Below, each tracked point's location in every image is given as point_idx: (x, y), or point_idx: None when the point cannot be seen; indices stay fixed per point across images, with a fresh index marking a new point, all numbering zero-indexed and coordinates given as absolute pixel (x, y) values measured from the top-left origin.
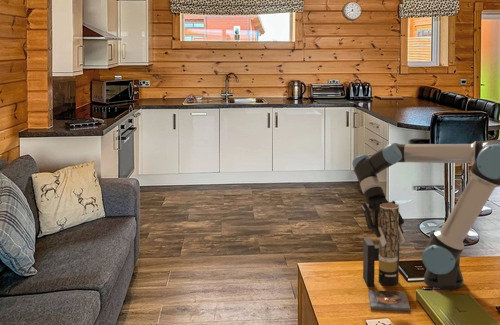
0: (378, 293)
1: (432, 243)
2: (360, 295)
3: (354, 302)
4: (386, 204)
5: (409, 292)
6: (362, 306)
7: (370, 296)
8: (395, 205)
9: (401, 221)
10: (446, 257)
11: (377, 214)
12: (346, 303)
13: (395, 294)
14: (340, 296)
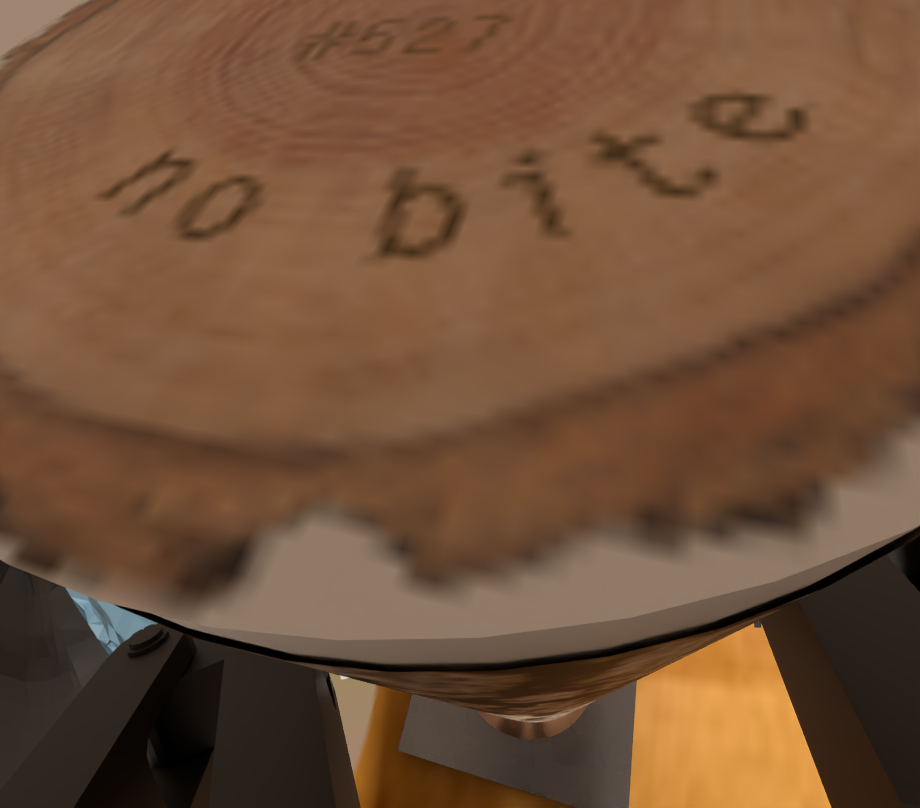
0: (569, 748)
1: (27, 638)
2: (682, 796)
3: (725, 686)
4: (573, 130)
5: (359, 795)
6: None
7: (627, 705)
8: (150, 34)
9: (173, 639)
10: None
11: (882, 712)
12: (775, 678)
13: (468, 716)
14: (826, 800)
